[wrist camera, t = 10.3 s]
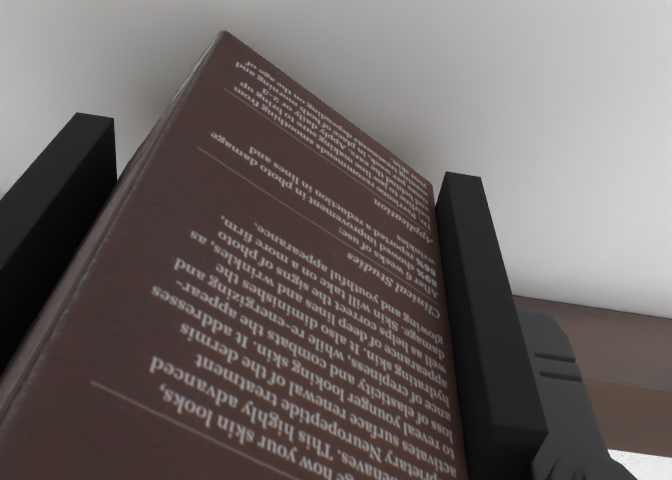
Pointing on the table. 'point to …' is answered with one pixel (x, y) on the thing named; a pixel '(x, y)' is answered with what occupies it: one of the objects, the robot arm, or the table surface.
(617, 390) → the straight edge
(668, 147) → the table surface
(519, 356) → the robot arm
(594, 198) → the table surface
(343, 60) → the table surface
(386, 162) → the box
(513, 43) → the table surface
